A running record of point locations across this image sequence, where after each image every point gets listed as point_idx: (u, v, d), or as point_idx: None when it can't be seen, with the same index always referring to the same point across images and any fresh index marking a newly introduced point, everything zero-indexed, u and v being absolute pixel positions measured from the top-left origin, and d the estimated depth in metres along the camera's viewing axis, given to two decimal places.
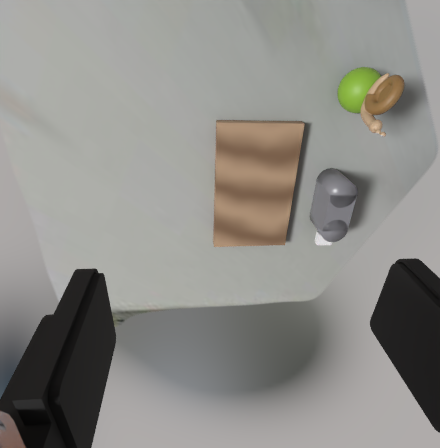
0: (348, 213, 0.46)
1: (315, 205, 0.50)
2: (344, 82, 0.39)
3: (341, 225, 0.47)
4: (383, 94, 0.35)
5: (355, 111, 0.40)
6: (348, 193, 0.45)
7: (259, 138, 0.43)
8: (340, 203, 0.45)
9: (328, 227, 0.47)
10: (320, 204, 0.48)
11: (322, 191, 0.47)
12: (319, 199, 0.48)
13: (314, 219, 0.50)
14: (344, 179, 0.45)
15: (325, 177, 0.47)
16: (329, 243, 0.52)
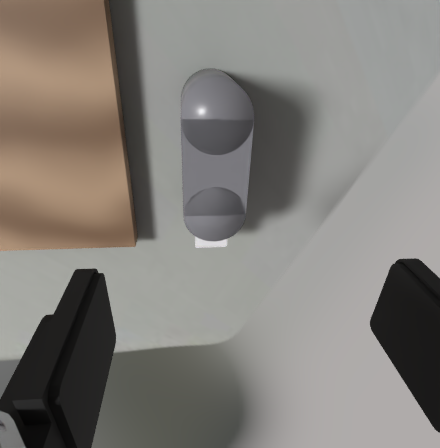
0: (240, 170, 0.19)
1: None
2: None
3: (228, 201, 0.20)
4: None
5: None
6: (229, 114, 0.17)
7: None
8: (214, 142, 0.18)
9: (197, 206, 0.20)
10: None
11: None
12: None
13: None
14: (218, 76, 0.17)
15: (187, 84, 0.19)
16: (222, 243, 0.24)
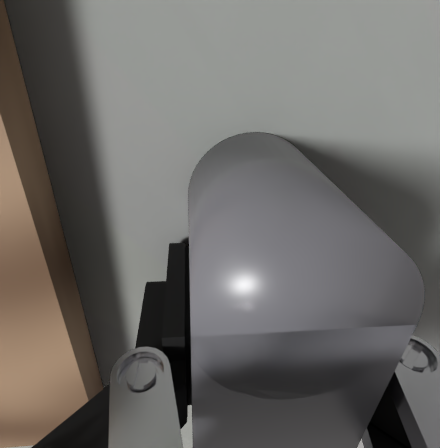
0: (346, 420, 0.07)
1: None
2: None
3: None
4: None
5: None
6: (346, 317, 0.05)
7: None
8: (287, 377, 0.06)
9: None
10: None
11: None
12: None
13: None
14: (311, 194, 0.05)
15: (206, 181, 0.08)
16: None
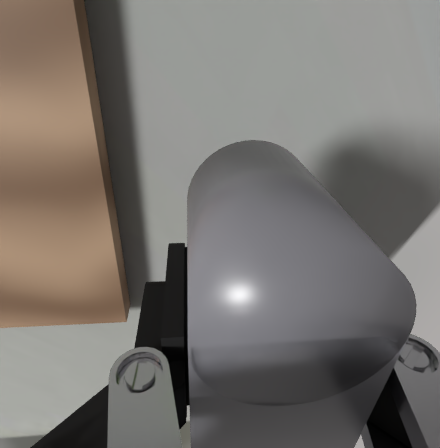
0: (341, 425, 0.07)
1: None
2: None
3: None
4: None
5: None
6: (339, 328, 0.05)
7: None
8: (282, 385, 0.06)
9: None
10: None
11: None
12: None
13: None
14: (305, 208, 0.06)
15: (204, 190, 0.08)
16: None
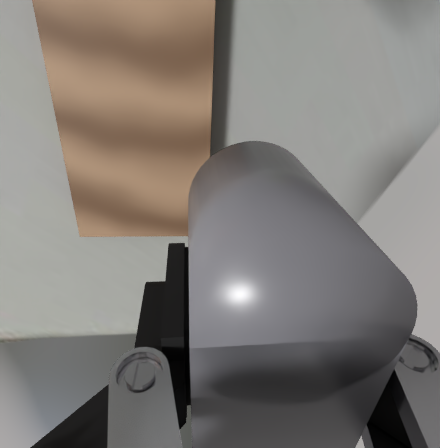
0: (342, 426, 0.07)
1: None
2: None
3: None
4: None
5: None
6: (340, 329, 0.05)
7: (125, 12, 0.21)
8: (283, 386, 0.06)
9: None
10: None
11: None
12: None
13: None
14: (307, 209, 0.06)
15: (205, 191, 0.08)
16: None
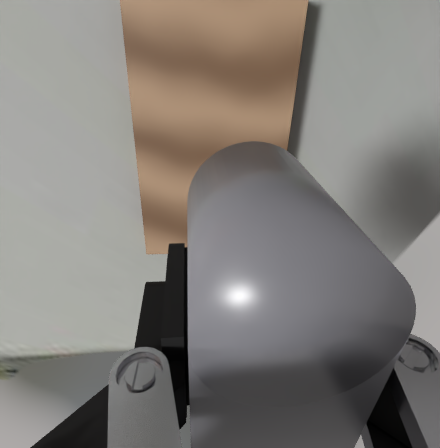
0: (341, 426, 0.07)
1: None
2: None
3: None
4: None
5: None
6: (339, 330, 0.05)
7: (214, 30, 0.21)
8: (282, 386, 0.06)
9: None
10: None
11: None
12: None
13: None
14: (306, 210, 0.06)
15: (204, 191, 0.08)
16: None
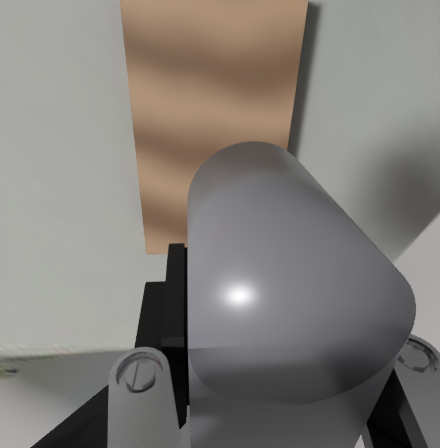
0: (341, 426, 0.07)
1: None
2: None
3: None
4: None
5: None
6: (339, 330, 0.05)
7: (214, 30, 0.21)
8: (282, 386, 0.06)
9: None
10: None
11: None
12: None
13: None
14: (306, 210, 0.06)
15: (204, 191, 0.08)
16: None
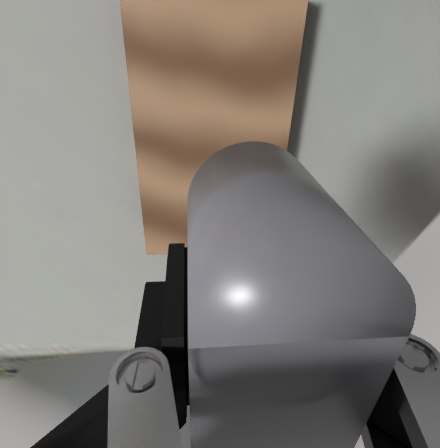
0: (341, 426, 0.07)
1: None
2: None
3: None
4: None
5: None
6: (339, 329, 0.05)
7: (214, 30, 0.21)
8: (282, 386, 0.06)
9: None
10: None
11: None
12: None
13: None
14: (306, 209, 0.06)
15: (204, 191, 0.08)
16: None
